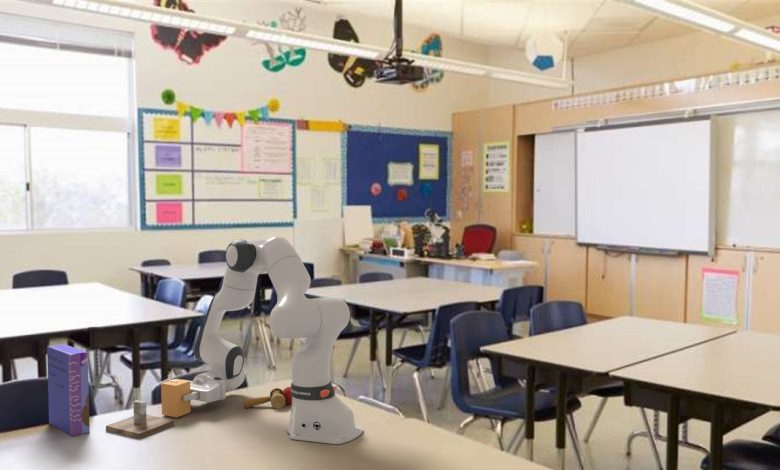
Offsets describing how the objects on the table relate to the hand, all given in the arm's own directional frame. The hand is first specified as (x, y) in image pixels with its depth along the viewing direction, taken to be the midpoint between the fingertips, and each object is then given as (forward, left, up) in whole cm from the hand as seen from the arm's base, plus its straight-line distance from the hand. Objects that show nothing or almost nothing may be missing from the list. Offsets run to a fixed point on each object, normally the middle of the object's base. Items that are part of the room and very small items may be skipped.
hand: (173, 396), depth 207 cm
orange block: (0, -1, -5) cm, 6 cm away
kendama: (-21, -23, -6) cm, 31 cm away
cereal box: (+19, +23, -6) cm, 31 cm away
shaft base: (0, +13, -6) cm, 14 cm away
